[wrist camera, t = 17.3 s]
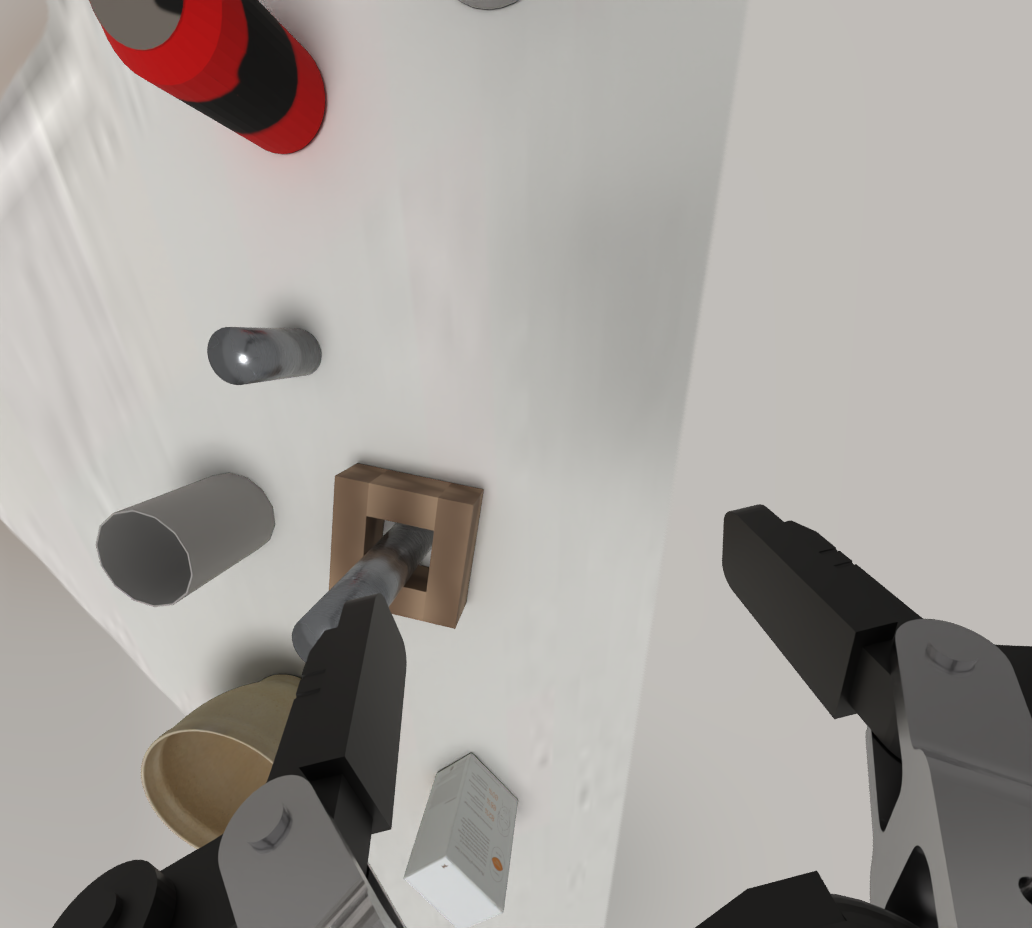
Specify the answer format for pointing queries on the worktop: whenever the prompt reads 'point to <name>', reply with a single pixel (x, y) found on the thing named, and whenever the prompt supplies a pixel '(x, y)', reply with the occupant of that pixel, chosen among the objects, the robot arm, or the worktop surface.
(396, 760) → the robot arm
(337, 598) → the long steel pin
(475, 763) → the small box
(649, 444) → the worktop surface
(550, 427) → the worktop surface
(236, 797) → the planter bowl
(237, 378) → the short steel pin
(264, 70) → the soda can
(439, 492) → the walnut bored block
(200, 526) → the cup
